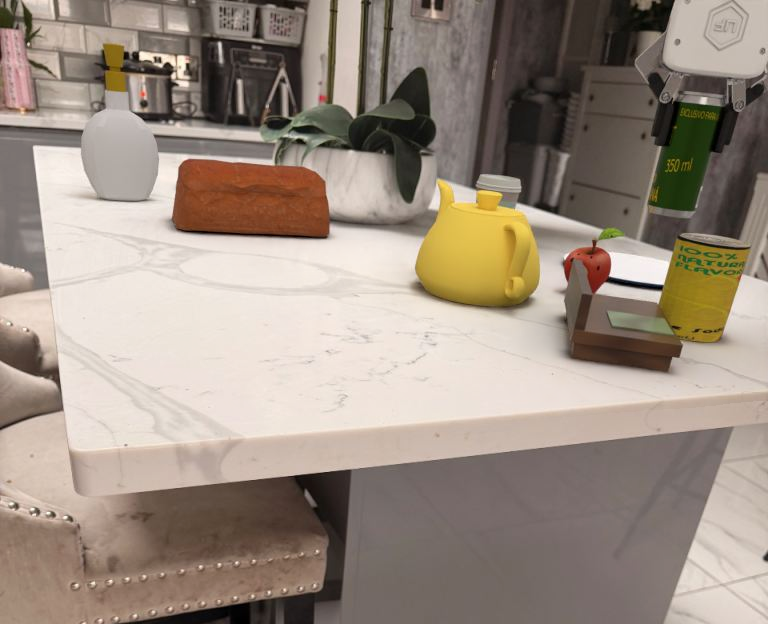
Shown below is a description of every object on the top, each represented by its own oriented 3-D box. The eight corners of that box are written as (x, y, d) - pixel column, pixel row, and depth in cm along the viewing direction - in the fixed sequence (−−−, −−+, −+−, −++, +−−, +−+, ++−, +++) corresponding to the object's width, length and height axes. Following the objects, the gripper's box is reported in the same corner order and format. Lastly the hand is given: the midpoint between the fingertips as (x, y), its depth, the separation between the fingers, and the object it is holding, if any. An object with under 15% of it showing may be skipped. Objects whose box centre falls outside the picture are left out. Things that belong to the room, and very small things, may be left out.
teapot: (379, 269, 117) (388, 173, 110) (476, 270, 125) (490, 179, 118) (461, 316, 98) (478, 203, 91) (570, 313, 105) (594, 208, 99)
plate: (544, 269, 130) (545, 262, 129) (581, 251, 150) (583, 244, 149) (694, 300, 121) (696, 292, 120) (713, 276, 141) (715, 269, 140)
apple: (575, 300, 112) (591, 230, 108) (550, 288, 118) (564, 220, 113) (617, 300, 115) (634, 231, 110) (590, 289, 121) (606, 222, 116)
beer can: (689, 213, 88) (722, 96, 82) (698, 220, 83) (734, 96, 77) (642, 207, 88) (671, 90, 82) (648, 214, 84) (680, 90, 78)
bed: (649, 328, 103) (665, 271, 99) (674, 375, 86) (694, 309, 82) (560, 315, 104) (573, 259, 100) (566, 359, 87) (582, 293, 83)
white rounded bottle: (154, 196, 156) (147, 47, 143) (165, 203, 149) (159, 48, 136) (80, 193, 149) (66, 38, 136) (88, 201, 143) (74, 39, 130)
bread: (169, 216, 138) (167, 152, 133) (313, 223, 147) (316, 163, 141) (178, 233, 125) (176, 163, 120) (334, 240, 134) (339, 175, 129)
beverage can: (727, 346, 99) (759, 250, 93) (657, 335, 100) (684, 240, 94) (713, 327, 107) (741, 238, 101) (648, 318, 108) (672, 229, 102)
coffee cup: (510, 252, 142) (523, 182, 136) (465, 245, 143) (475, 176, 137) (512, 244, 149) (523, 178, 143) (468, 238, 150) (478, 172, 144)
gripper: (657, -73, 71) (610, 141, 80) (848, -56, 69) (778, 161, 78) (647, -59, 78) (604, 137, 87) (821, -43, 76) (759, 156, 85)
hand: (687, 146), depth 82 cm, fingers closed on beer can, 5 cm apart
